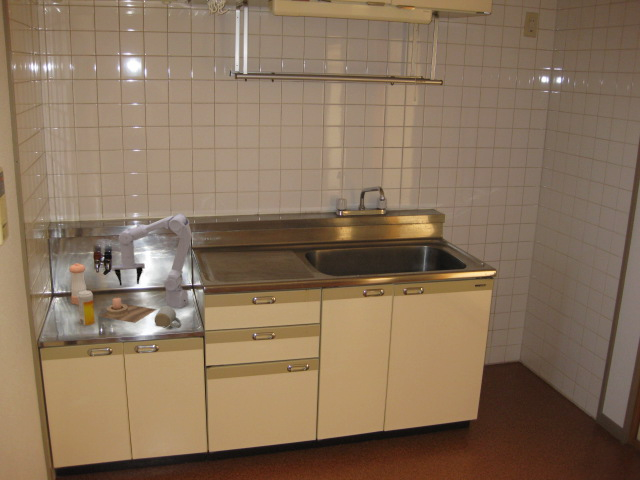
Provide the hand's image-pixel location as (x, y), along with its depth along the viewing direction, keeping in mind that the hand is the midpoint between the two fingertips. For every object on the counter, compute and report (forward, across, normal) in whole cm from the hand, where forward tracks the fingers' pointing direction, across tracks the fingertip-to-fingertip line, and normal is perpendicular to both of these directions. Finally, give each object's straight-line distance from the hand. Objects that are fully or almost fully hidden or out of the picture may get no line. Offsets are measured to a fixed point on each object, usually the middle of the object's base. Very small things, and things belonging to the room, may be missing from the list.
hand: (129, 284), depth 306 cm
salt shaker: (+11, +22, -11) cm, 27 cm away
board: (+10, +2, +13) cm, 16 cm away
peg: (+9, +7, +13) cm, 17 cm away
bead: (+9, +7, +13) cm, 17 cm away
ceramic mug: (+11, -14, +29) cm, 34 cm away
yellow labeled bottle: (+11, +20, +19) cm, 29 cm away
